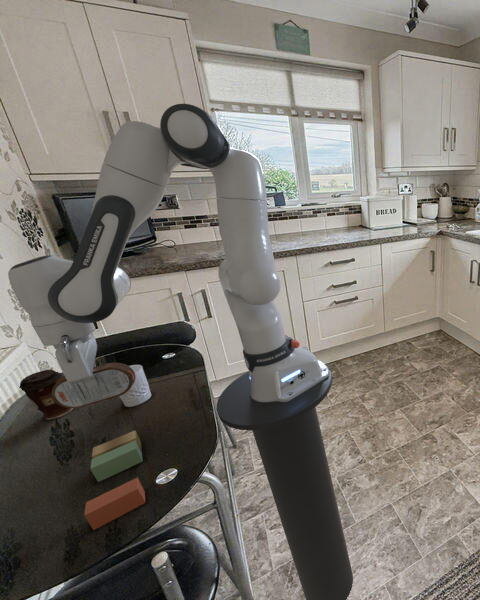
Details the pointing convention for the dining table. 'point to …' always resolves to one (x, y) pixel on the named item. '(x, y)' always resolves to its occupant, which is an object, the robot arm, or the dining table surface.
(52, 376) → the coffee cup
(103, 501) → the terracotta block
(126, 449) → the sage block
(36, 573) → the dining table surface
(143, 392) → the white cup
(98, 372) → the tin
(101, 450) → the beech block
